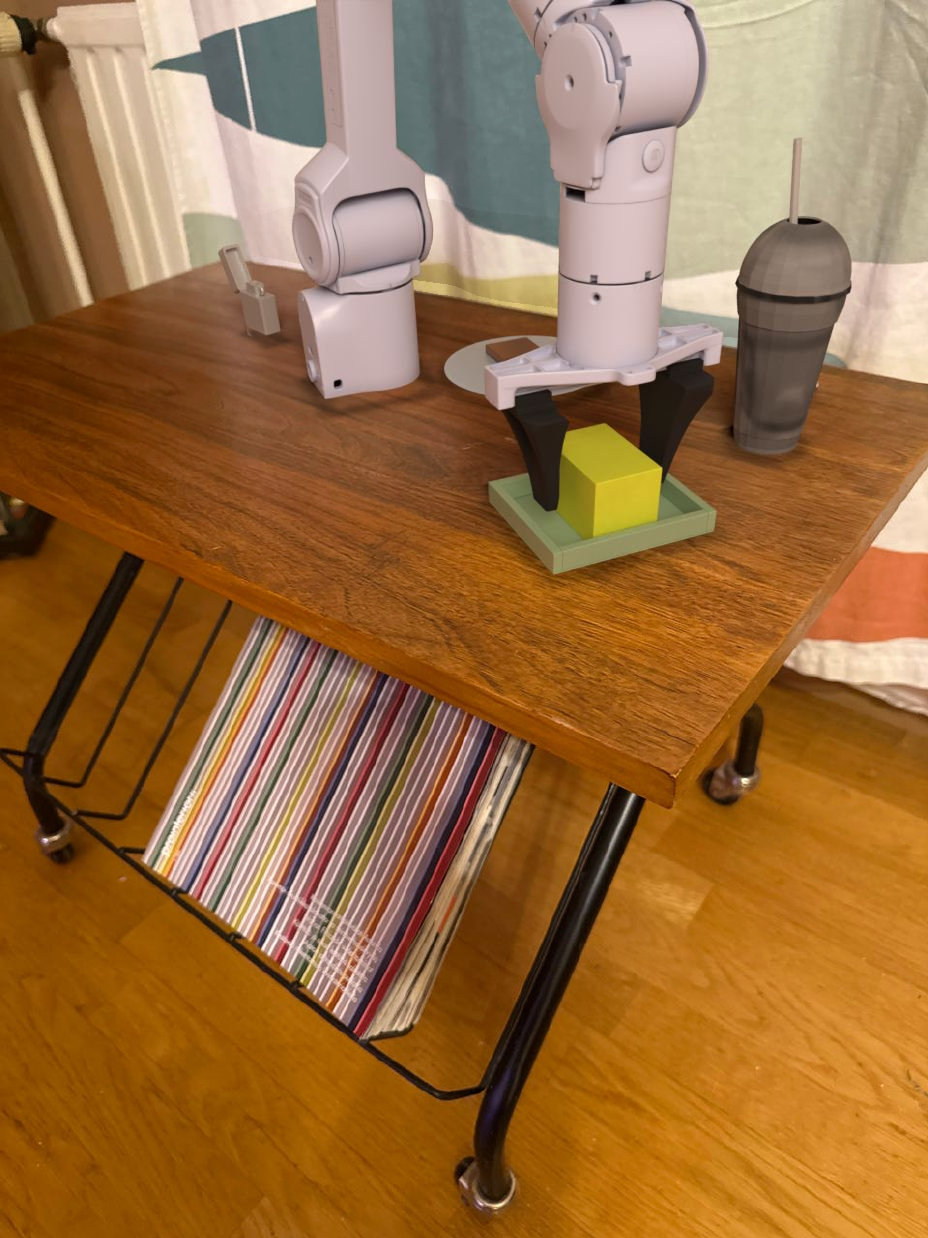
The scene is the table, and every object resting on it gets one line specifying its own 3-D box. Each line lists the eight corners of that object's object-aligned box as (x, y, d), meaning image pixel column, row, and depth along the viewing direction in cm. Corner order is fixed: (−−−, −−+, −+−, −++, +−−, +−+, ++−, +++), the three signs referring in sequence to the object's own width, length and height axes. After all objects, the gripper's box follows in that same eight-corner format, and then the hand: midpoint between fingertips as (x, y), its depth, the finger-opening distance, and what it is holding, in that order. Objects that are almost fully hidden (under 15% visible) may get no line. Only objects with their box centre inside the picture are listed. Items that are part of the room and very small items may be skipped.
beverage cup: (800, 476, 62) (867, 154, 50) (698, 454, 65) (738, 146, 53) (828, 434, 67) (895, 131, 54) (732, 415, 70) (775, 125, 58)
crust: (503, 368, 77) (503, 359, 76) (485, 352, 80) (485, 344, 79) (545, 359, 78) (545, 350, 77) (526, 345, 81) (526, 336, 80)
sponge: (592, 549, 55) (596, 484, 52) (542, 497, 60) (543, 436, 57) (656, 532, 56) (663, 467, 53) (602, 483, 61) (605, 422, 59)
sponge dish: (553, 579, 53) (553, 554, 52) (488, 505, 61) (488, 481, 59) (713, 535, 56) (717, 510, 55) (634, 469, 64) (636, 446, 62)
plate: (481, 422, 71) (481, 410, 70) (421, 362, 81) (421, 351, 81) (636, 388, 75) (637, 377, 74) (560, 336, 85) (560, 325, 85)
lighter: (283, 340, 87) (269, 254, 83) (267, 344, 87) (252, 258, 82) (247, 323, 92) (232, 240, 87) (232, 327, 91) (216, 244, 86)
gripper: (520, 312, 44) (522, 547, 52) (768, 267, 48) (733, 492, 56) (466, 275, 49) (475, 493, 57) (693, 237, 53) (671, 447, 61)
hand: (599, 490), depth 57 cm, fingers open, 7 cm apart
